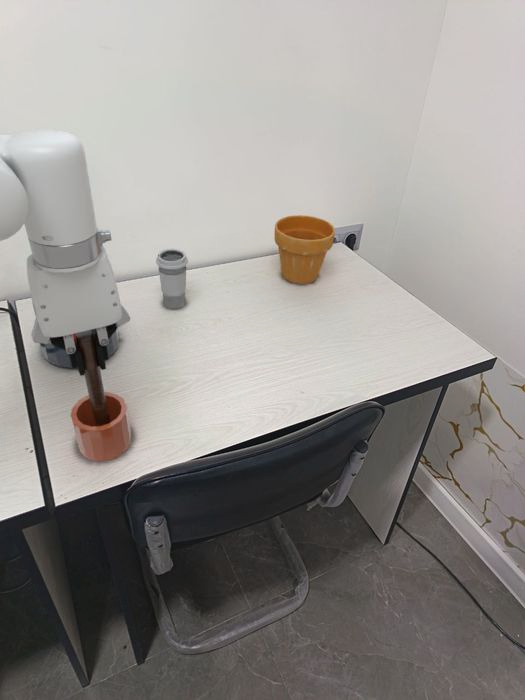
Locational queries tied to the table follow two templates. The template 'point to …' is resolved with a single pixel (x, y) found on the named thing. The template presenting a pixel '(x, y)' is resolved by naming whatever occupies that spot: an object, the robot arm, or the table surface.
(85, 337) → the stick
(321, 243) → the flower pot
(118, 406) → the holder
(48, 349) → the bowl
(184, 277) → the cup
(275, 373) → the table surface
